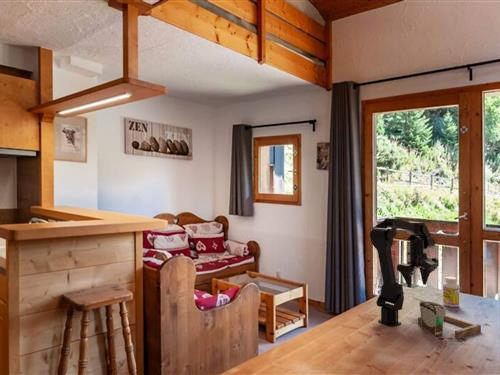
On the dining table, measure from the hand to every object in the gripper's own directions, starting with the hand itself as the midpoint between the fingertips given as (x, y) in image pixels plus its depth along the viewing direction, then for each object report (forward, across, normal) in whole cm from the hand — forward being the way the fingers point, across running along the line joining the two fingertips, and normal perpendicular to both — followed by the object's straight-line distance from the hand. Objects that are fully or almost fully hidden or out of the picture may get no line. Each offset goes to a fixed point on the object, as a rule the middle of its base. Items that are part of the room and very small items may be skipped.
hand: (417, 286), depth 162 cm
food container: (+12, -10, -17) cm, 24 cm away
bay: (+12, -10, -17) cm, 23 cm away
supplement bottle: (+12, +24, +1) cm, 27 cm away
